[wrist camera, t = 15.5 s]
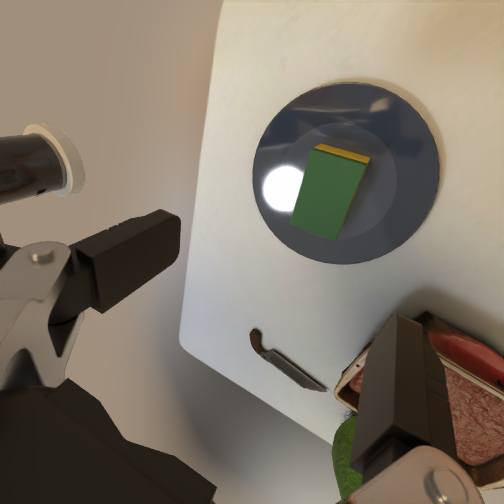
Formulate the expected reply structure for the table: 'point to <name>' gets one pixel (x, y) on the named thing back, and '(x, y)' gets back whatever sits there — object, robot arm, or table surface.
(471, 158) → the table surface
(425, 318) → the baking dish
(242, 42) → the table surface
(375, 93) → the plate
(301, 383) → the knife
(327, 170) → the sponge
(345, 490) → the avocado
